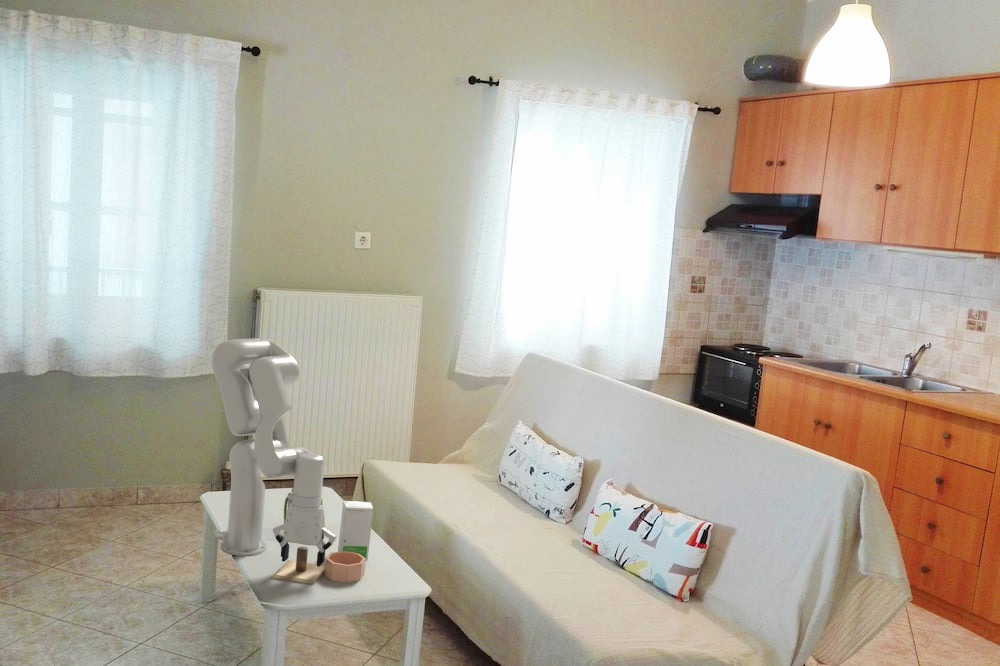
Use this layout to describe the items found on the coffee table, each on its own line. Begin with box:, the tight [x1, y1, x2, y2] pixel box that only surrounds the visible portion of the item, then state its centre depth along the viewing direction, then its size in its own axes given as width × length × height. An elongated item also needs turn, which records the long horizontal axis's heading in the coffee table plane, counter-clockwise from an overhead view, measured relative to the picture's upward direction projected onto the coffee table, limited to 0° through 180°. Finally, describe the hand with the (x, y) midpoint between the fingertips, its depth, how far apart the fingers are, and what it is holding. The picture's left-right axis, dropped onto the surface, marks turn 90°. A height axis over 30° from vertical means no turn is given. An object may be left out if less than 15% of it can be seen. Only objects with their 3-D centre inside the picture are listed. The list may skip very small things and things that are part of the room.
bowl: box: [323, 551, 366, 583], centre depth 259 cm, size 10×10×5 cm
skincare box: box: [337, 500, 374, 561], centre depth 274 cm, size 8×7×16 cm
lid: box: [273, 546, 325, 585], centre depth 257 cm, size 11×11×7 cm
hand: (302, 562), depth 256 cm, fingers open, 9 cm apart
